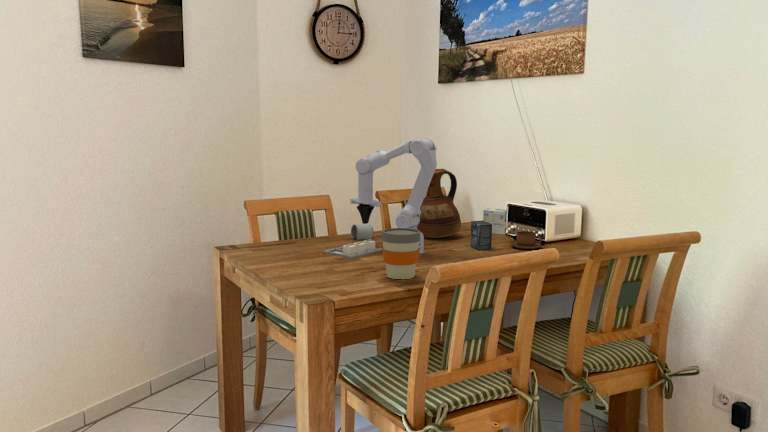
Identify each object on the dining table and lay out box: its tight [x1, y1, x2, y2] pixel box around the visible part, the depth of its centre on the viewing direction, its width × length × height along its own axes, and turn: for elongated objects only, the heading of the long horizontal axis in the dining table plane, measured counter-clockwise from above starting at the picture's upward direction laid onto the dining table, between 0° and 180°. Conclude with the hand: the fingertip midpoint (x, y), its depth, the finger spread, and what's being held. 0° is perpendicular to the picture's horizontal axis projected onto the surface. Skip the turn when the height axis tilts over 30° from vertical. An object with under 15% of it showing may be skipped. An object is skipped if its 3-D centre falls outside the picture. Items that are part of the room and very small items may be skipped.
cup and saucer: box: [510, 230, 543, 250], centre depth 241 cm, size 12×12×6 cm
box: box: [470, 220, 493, 251], centre depth 238 cm, size 8×6×11 cm
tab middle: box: [352, 240, 366, 253], centre depth 224 cm, size 4×3×4 cm
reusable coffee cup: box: [381, 227, 420, 280], centre depth 194 cm, size 13×13×15 cm
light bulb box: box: [482, 207, 508, 236], centre depth 272 cm, size 11×7×11 cm, turn 58°
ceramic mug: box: [350, 223, 374, 241], centre depth 253 cm, size 10×8×7 cm
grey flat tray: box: [323, 243, 383, 260], centre depth 226 cm, size 14×18×2 cm
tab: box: [342, 243, 356, 256], centre depth 220 cm, size 4×3×4 cm
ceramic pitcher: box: [417, 168, 462, 239], centre depth 261 cm, size 20×20×30 cm
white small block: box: [362, 238, 376, 251], centre depth 228 cm, size 4×3×4 cm
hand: (365, 223), depth 237 cm, fingers closed
